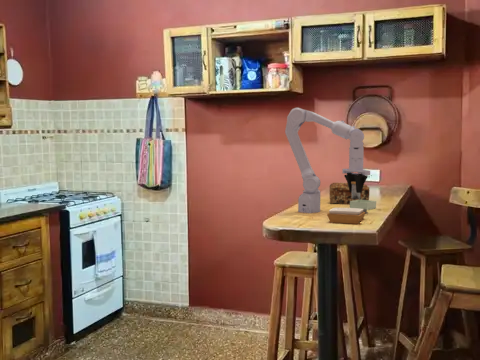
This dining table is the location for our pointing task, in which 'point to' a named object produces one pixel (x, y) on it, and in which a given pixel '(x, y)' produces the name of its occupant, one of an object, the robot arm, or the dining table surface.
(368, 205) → the bin
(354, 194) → the jar with copper lid
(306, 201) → the robot arm
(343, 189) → the bread
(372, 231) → the dining table surface
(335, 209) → the soap dish
